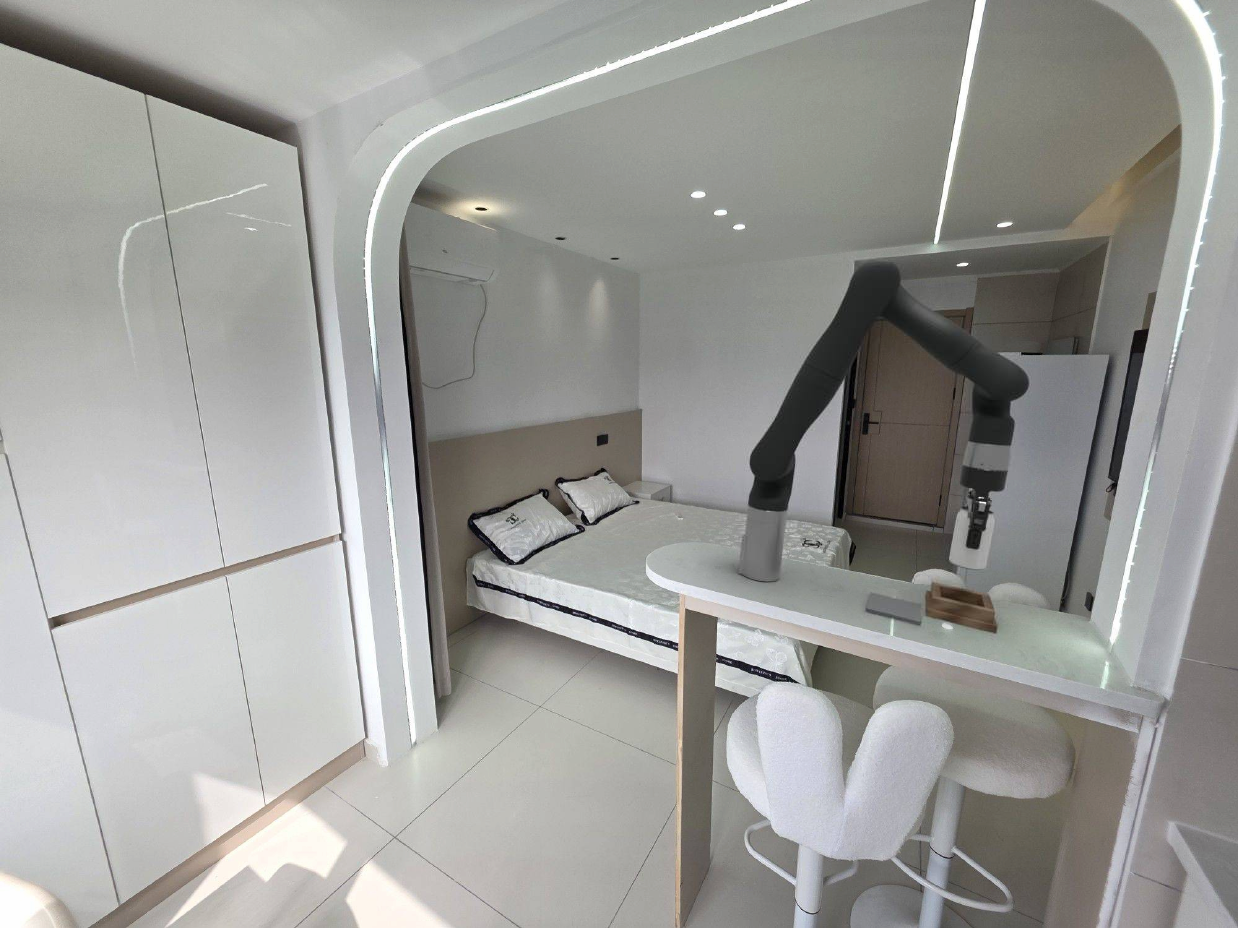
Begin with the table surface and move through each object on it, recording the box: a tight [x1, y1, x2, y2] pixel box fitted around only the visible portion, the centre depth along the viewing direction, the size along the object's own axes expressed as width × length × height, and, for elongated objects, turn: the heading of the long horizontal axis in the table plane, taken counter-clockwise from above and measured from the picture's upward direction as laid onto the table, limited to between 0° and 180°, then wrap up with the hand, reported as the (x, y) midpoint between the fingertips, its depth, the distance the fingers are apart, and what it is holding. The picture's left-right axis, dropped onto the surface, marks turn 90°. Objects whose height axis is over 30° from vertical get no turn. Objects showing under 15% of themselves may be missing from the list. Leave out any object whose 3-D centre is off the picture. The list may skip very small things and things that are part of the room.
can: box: [948, 506, 996, 571], centre depth 103 cm, size 6×6×12 cm
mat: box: [865, 591, 922, 627], centre depth 106 cm, size 10×10×1 cm
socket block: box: [924, 581, 998, 634], centre depth 106 cm, size 12×12×4 cm
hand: (970, 543), depth 104 cm, fingers closed on can, 6 cm apart
